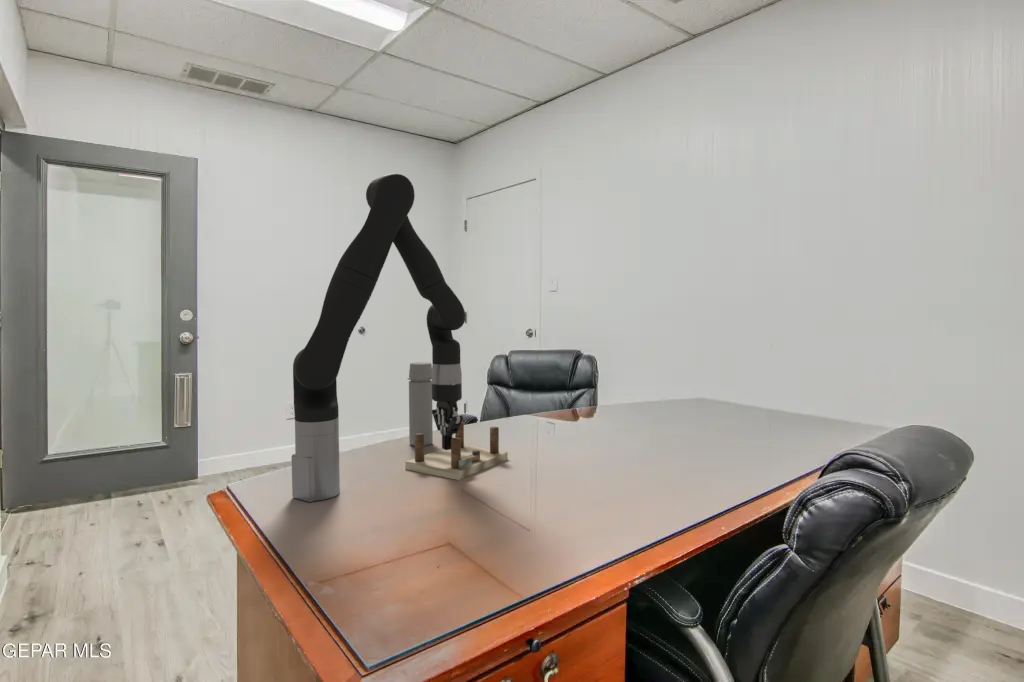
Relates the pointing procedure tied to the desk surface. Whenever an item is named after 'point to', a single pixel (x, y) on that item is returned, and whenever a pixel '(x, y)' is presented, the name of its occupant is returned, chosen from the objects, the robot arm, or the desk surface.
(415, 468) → the stool frame
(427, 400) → the water bottle
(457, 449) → the swing leg
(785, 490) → the desk surface
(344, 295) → the robot arm
